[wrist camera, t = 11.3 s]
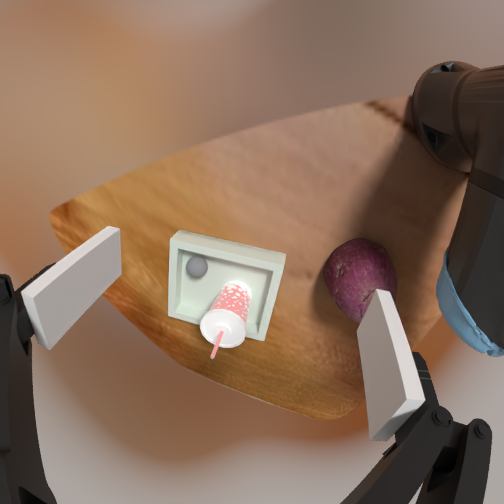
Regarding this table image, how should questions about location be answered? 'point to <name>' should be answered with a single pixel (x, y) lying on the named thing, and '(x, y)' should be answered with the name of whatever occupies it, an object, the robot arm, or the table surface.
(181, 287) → the tray
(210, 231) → the table surface
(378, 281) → the vegetable
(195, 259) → the ball
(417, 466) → the robot arm
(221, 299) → the beverage cup
